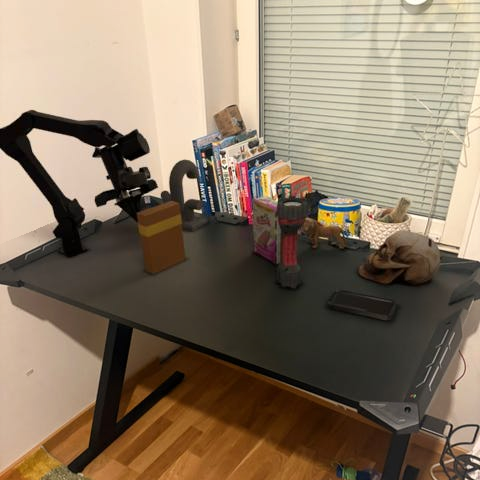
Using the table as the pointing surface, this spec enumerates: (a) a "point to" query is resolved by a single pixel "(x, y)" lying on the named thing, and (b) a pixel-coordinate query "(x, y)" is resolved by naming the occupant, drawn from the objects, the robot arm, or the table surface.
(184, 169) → the dark grey curved stand
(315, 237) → the lion figurine
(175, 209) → the brown banded box
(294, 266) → the flashlight
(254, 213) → the candy bar box
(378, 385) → the table surface
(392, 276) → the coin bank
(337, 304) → the phone
